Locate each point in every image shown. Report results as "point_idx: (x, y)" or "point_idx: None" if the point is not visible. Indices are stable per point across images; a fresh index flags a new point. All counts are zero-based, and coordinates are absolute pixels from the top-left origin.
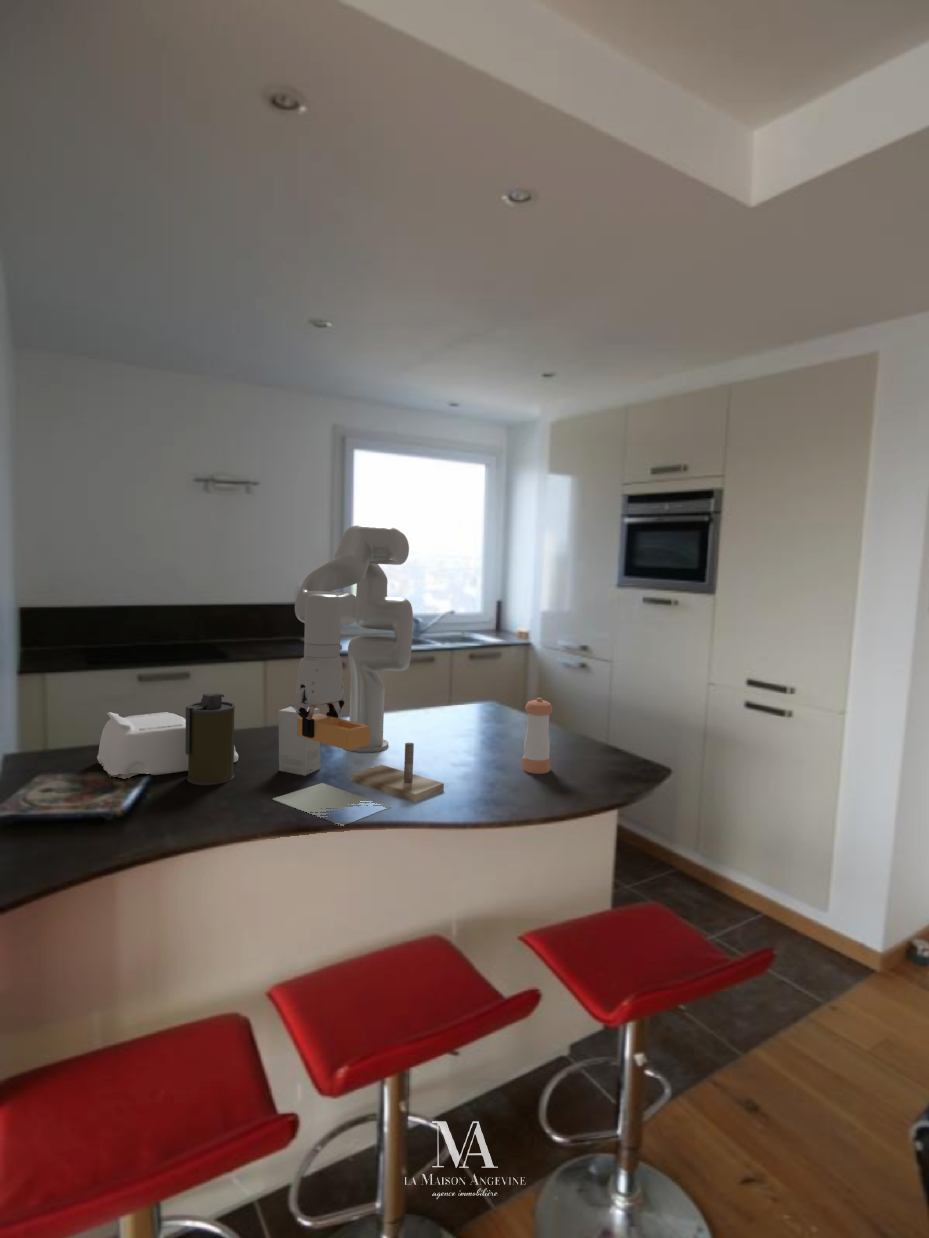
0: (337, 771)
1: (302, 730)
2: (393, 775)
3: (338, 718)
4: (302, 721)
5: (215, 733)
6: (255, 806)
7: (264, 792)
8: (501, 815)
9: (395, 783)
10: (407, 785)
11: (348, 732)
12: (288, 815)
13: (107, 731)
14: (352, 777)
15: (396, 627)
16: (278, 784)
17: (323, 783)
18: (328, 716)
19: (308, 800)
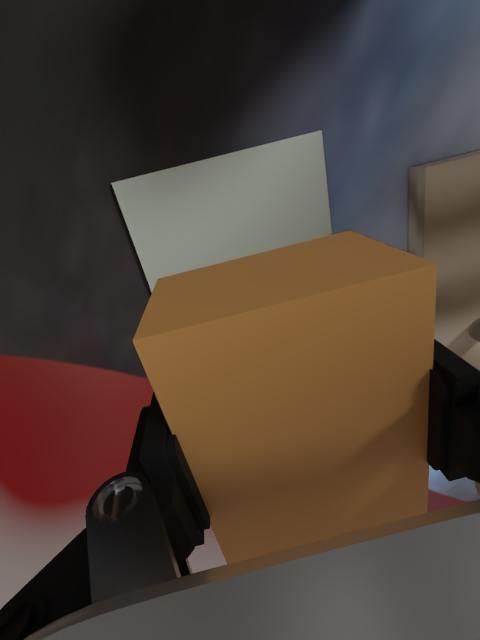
0: (458, 4)
1: (142, 417)
2: None
3: (420, 490)
4: (128, 470)
5: None
6: (48, 204)
7: (108, 80)
8: (465, 492)
9: (447, 322)
10: (455, 349)
11: None
12: (122, 316)
13: None
14: (418, 170)
15: None
16: (187, 12)
17: (322, 139)
18: (408, 418)
19: (205, 261)
